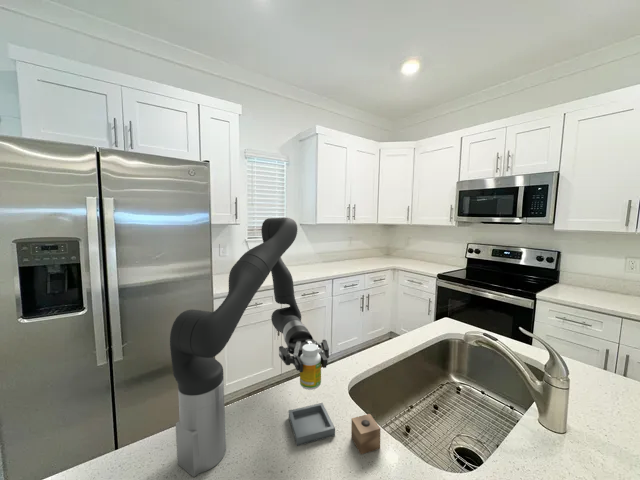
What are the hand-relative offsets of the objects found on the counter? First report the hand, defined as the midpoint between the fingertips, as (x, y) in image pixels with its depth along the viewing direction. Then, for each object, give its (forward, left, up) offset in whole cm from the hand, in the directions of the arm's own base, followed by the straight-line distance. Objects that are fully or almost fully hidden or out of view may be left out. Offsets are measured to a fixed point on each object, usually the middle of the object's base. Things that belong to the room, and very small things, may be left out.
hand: (313, 366), depth 66 cm
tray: (+2, +2, -17) cm, 18 cm away
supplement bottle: (+2, +2, -6) cm, 7 cm away
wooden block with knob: (+4, -12, -17) cm, 22 cm away
